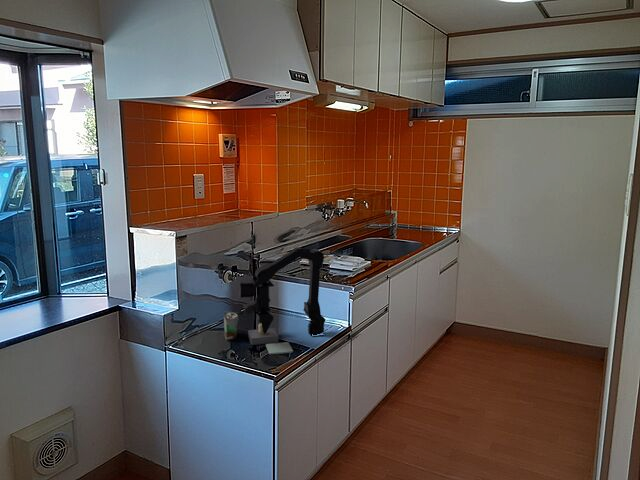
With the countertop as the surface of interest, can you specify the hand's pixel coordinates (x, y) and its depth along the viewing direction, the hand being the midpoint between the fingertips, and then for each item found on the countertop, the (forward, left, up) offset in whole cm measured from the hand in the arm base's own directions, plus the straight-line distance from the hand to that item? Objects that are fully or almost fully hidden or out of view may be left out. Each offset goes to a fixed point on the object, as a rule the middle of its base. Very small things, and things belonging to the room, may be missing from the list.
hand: (263, 329), depth 221 cm
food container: (+13, -7, -5) cm, 16 cm away
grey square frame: (0, 0, -4) cm, 4 cm away
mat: (-5, +12, -4) cm, 14 cm away
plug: (0, 0, -4) cm, 4 cm away
